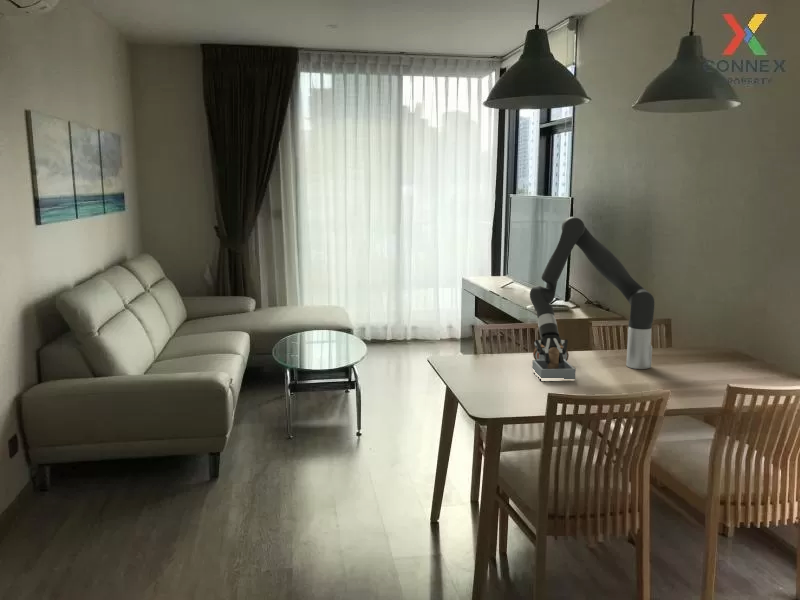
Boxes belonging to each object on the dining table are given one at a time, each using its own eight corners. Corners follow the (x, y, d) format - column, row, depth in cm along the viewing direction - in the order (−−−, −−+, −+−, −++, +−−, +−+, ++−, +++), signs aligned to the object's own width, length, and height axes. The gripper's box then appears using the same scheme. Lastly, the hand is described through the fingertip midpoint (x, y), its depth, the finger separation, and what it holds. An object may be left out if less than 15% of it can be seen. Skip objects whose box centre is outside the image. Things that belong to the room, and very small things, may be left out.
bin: (564, 371, 266) (564, 359, 265) (574, 381, 252) (575, 369, 251) (532, 371, 265) (532, 359, 265) (540, 381, 251) (541, 369, 250)
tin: (567, 363, 278) (568, 344, 276) (568, 365, 275) (569, 346, 273) (532, 362, 279) (533, 344, 278) (533, 364, 276) (534, 346, 275)
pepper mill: (556, 369, 260) (557, 345, 259) (559, 372, 256) (560, 348, 254) (546, 369, 260) (547, 345, 259) (549, 372, 256) (550, 348, 254)
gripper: (532, 322, 262) (539, 358, 252) (567, 321, 263) (574, 357, 253) (529, 332, 268) (535, 367, 258) (562, 331, 269) (570, 367, 259)
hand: (554, 362), depth 256 cm, fingers closed on pepper mill, 4 cm apart
